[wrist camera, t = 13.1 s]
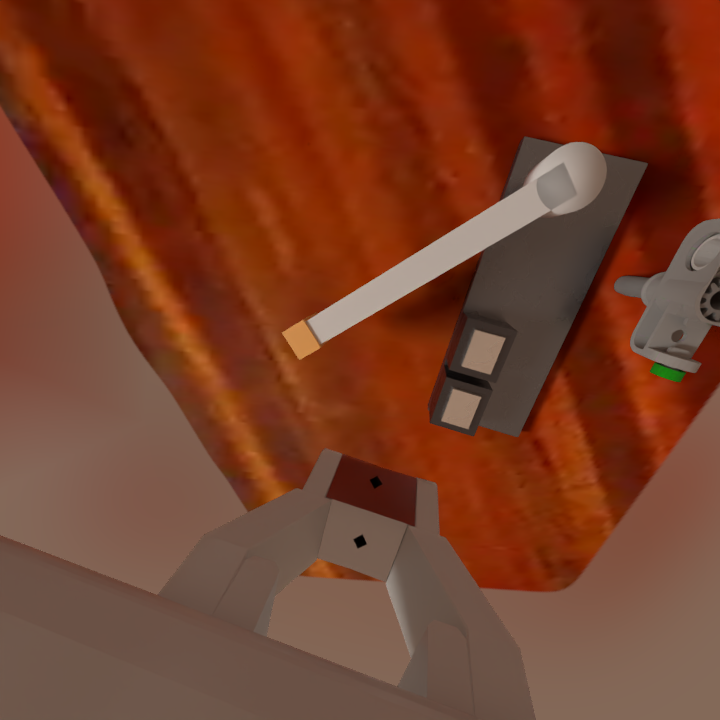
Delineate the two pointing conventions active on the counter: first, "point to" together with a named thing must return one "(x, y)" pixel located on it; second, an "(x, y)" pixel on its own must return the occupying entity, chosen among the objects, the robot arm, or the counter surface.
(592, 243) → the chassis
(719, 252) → the mechanical component
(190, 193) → the counter surface
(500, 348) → the block
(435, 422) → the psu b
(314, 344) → the lever
